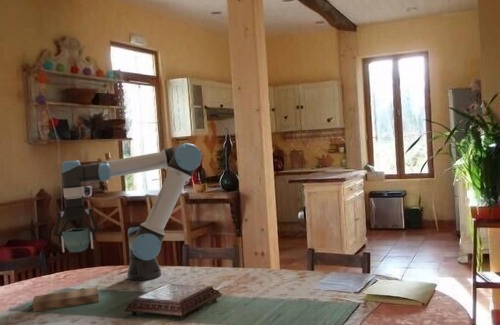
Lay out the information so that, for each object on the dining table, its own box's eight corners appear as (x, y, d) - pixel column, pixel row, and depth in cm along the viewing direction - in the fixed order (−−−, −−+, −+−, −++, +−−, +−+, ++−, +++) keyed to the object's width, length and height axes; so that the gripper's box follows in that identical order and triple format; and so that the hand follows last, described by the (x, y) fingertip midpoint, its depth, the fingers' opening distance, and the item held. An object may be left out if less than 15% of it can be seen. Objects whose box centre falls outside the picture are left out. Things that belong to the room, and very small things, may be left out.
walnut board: (97, 294, 231) (96, 287, 231) (99, 301, 219) (98, 293, 219) (34, 303, 223) (34, 296, 223) (33, 311, 212) (32, 303, 212)
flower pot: (82, 253, 231) (80, 231, 230) (63, 253, 232) (61, 232, 232) (92, 248, 239) (91, 227, 239) (73, 249, 241) (72, 228, 241)
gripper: (101, 194, 242) (106, 245, 243) (44, 199, 235) (48, 252, 236) (102, 195, 235) (107, 247, 236) (43, 201, 228) (48, 255, 229)
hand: (78, 250), depth 236 cm, fingers closed on flower pot, 11 cm apart
